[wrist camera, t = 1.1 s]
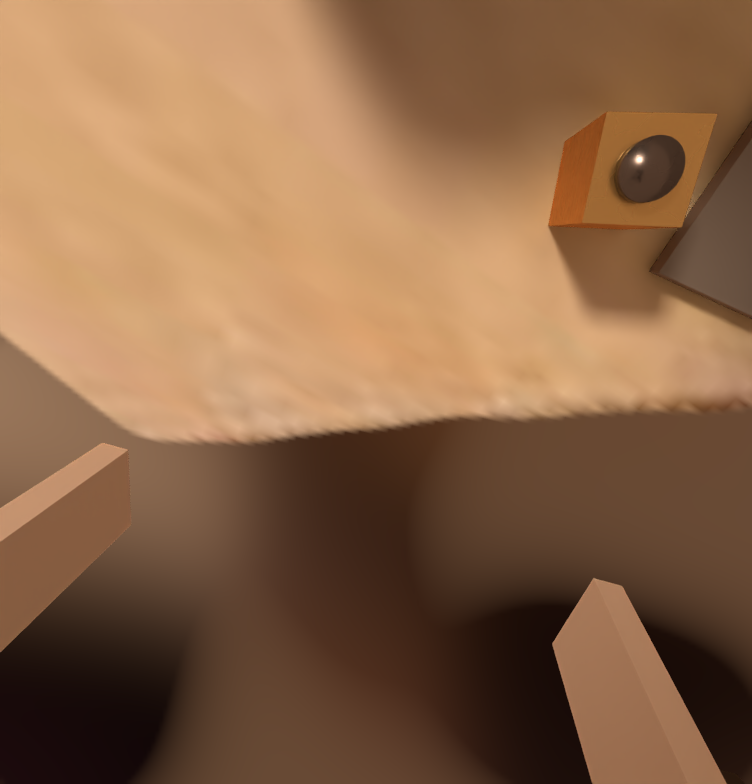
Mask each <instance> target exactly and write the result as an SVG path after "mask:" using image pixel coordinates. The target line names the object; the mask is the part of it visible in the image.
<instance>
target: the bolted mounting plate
mask: <svg viewBox="0 0 752 784" xmlns="http://www.w3.org/2000/svg"><path fill="white" fill-rule="evenodd" d="M650 272H652V273H654V274H656V275H658V276H660V277H663V278H665V279H667V280H669V281H671V282H673V283H676V284H678V285H680V286H682V287H684V288H686V289H689V290H691V291H693V292H695V293H697V294H699V295H701V296H704V297H706V298H708V299H710V300H712V301H714V302H717V303H719V304H721V305H723V306H725V307H727V308H729V309H732V310H734V311H736V312H738V313H740V314H742V315H745V316H747V317H749V318H751V319H752V122H751V123H750V125H749V126H748V127H747V129H746V130H745V132H744V133H743V135H742V136H741V138H740V139H739V141H738V142H737V144H736V145H735V146H734V148H733V149H732V151H731V152H730V154H729V155H728V157H727V158H726V160H725V161H724V163H723V164H722V165H721V167H720V168H719V170H718V171H717V173H716V174H715V176H714V177H713V179H712V180H711V182H710V183H709V184H708V186H707V187H706V189H705V190H704V192H703V193H702V195H701V196H700V198H699V199H698V201H697V202H696V203H695V205H694V206H693V208H692V209H691V211H690V212H689V214H688V215H687V217H686V218H685V220H684V222H683V225H682V227H681V228H678V230H677V231H676V233H675V234H674V236H673V237H672V239H671V240H670V241H669V243H668V244H667V246H666V247H665V249H664V250H663V252H662V253H661V255H660V256H659V258H658V259H657V260H656V262H655V263H654V265H653V266H652V268H651V269H650Z"/></svg>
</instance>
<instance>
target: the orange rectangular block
mask: <svg viewBox="0 0 752 784" xmlns="http://www.w3.org/2000/svg"><path fill="white" fill-rule="evenodd" d="M716 117H717V114H714V113H659V112H606V113H604V114H603V115H602V116H600V117H599V118H597V119H596V120H595V121H593V122H592V123H590V124H589V125H588V126H586V127H585V128H583V129H582V130H581V131H579V132H578V133H576V134H575V135H574V136H572V137H571V138H569V139H568V140H567V141H565V143H564V148H563V153H562V158H561V163H560V168H559V173H558V178H557V184H556V189H555V194H554V199H553V204H552V209H551V214H550V219H549V224H548V226H559V227H580V228H601V229H622V230H628V229H654V228H681V227H682V225H683V222H684V219H685V216H686V212H687V209H688V206H689V203H690V200H691V197H692V193H693V190H694V187H695V184H696V181H697V177H698V174H699V171H700V168H701V165H702V162H703V158H704V155H705V152H706V149H707V146H708V142H709V139H710V136H711V133H712V130H713V127H714V123H715V120H716Z"/></svg>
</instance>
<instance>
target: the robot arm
mask: <svg viewBox="0 0 752 784" xmlns="http://www.w3.org/2000/svg"><path fill="white" fill-rule="evenodd" d="M130 525H131V507H130V480H129V458H128V450H127V449H123V448H119V447H115V446H112V445H109V444H104V443H101V444H100V445H98V446H97V447H95V448H94V449H92V450H90V451H89V452H87V453H86V454H84V455H83V456H81V457H80V458H78V459H76V460H75V461H73V462H72V463H70V464H69V465H67V466H65V467H64V468H62V469H61V470H59V471H58V472H56V473H55V474H53V475H51V476H50V477H48V478H47V479H46V480H44V481H42V482H41V483H39V484H38V485H36V486H34V487H33V488H31V489H30V490H28V491H27V492H25V493H23V494H22V495H20V496H19V497H17V498H16V499H14V500H12V501H11V502H9V503H8V504H6V505H5V506H3V507H2V508H0V652H1V651H2V650H3V649H4V648H5V647H6V646H7V645H8V644H9V643H10V642H11V641H12V640H13V639H14V638H15V637H16V636H17V635H18V634H19V633H20V632H21V631H22V630H24V629H25V628H26V627H27V626H28V625H29V624H30V623H31V622H32V621H33V620H34V619H35V618H36V617H37V616H38V615H39V614H40V613H41V612H42V611H43V610H44V609H45V608H46V607H47V606H48V605H49V604H50V603H51V602H52V601H53V600H54V599H55V598H56V597H57V596H58V595H60V593H62V592H63V591H64V590H65V589H66V588H67V587H68V586H69V585H70V584H71V583H72V582H73V581H74V580H75V579H76V578H77V577H78V576H79V575H80V574H81V573H82V572H83V571H84V570H85V569H86V568H87V567H88V566H89V565H90V564H91V563H92V562H93V561H94V560H95V559H96V558H98V557H99V556H100V554H102V553H103V552H104V551H105V550H106V549H107V548H108V547H109V546H110V545H111V544H112V543H113V542H114V541H115V540H116V539H117V538H118V537H119V536H120V535H121V534H122V533H123V532H124V531H125V530H126V529H127V528H128V527H129V526H130ZM552 645H553V648H554V652H555V655H556V659H557V662H558V666H559V669H560V673H561V676H562V680H563V683H564V687H565V690H566V694H567V697H568V701H569V704H570V708H571V711H572V715H573V718H574V721H575V725H576V728H577V732H578V736H579V739H580V742H581V746H582V750H583V753H584V756H585V760H586V763H587V767H588V770H589V774H590V777H591V781H592V784H744V783H743V781H742V780H741V779H740V778H739V776H738V775H737V774H734V773H730V772H727V771H724V770H720V769H719V768H718V766H717V765H716V763H715V761H714V759H713V757H712V755H711V753H710V751H709V749H708V747H707V746H706V744H705V742H704V740H703V738H702V736H701V734H700V732H699V730H698V728H697V727H696V725H695V723H694V721H693V719H692V718H691V715H690V713H689V712H688V710H687V708H686V706H685V704H684V702H683V701H682V699H681V696H680V695H679V693H678V691H677V689H676V687H675V685H674V683H673V681H672V680H671V678H670V676H669V674H668V672H667V670H666V668H665V666H664V664H663V662H662V661H661V659H660V657H659V655H658V653H657V651H656V649H655V647H654V645H653V643H652V642H651V640H650V638H649V636H648V634H647V632H646V630H645V628H644V626H643V625H642V623H641V621H640V619H639V617H638V615H637V613H636V611H635V610H634V608H633V606H632V604H631V602H630V600H629V598H628V596H627V594H626V592H625V591H624V589H623V587H622V586H620V585H616V584H613V583H609V582H606V581H602V580H598V579H595V578H594V579H593V580H592V582H591V583H590V585H589V586H588V588H587V589H586V591H585V593H584V594H583V596H582V598H581V599H580V601H579V602H578V604H577V605H576V607H575V609H574V610H573V612H572V613H571V615H570V616H569V618H568V620H567V621H566V623H565V624H564V626H563V628H562V629H561V631H560V632H559V634H558V636H557V637H556V639H555V640H554V642H553V644H552Z"/></svg>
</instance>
